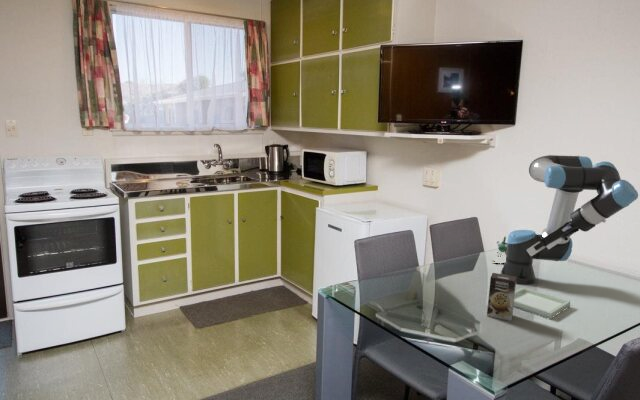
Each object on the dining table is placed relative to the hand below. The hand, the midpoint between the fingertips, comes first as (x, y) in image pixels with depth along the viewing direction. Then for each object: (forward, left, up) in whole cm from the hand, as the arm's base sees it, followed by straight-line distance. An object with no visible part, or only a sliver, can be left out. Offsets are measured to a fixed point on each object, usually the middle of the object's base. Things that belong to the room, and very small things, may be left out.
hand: (537, 249), depth 165 cm
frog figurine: (-46, +65, -30) cm, 85 cm away
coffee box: (-12, 0, -30) cm, 32 cm away
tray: (-8, +21, -30) cm, 37 cm away
